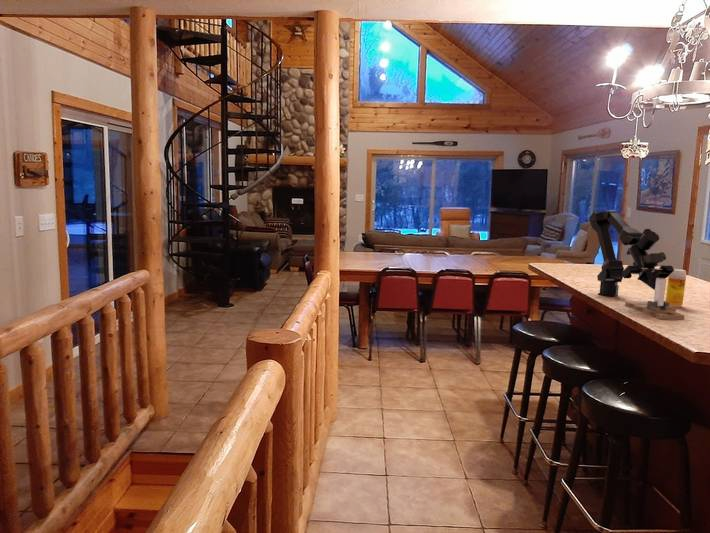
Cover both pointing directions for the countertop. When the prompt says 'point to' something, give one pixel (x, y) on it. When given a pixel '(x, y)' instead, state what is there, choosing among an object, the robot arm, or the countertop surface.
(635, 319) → the countertop surface
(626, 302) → the base
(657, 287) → the lever
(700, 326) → the countertop surface
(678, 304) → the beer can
